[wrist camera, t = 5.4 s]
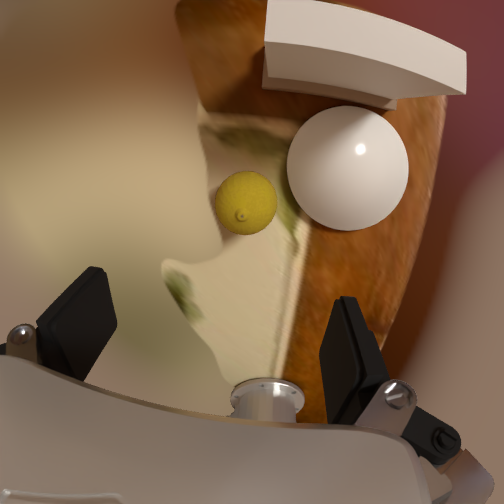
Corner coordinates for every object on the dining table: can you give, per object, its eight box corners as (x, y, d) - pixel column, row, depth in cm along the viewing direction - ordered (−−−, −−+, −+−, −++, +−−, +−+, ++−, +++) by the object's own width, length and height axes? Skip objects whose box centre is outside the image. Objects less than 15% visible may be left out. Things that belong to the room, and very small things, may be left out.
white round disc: (391, 233, 30) (394, 237, 29) (280, 219, 30) (280, 223, 29) (412, 121, 24) (416, 122, 23) (293, 96, 24) (293, 96, 23)
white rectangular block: (388, 110, 24) (470, 111, 11) (262, 89, 24) (252, 57, 11) (391, 67, 21) (471, 42, 9) (266, 44, 22) (260, -19, 9)
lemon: (271, 220, 30) (271, 254, 23) (220, 212, 30) (203, 242, 23) (281, 170, 28) (284, 187, 20) (226, 161, 28) (210, 176, 20)
